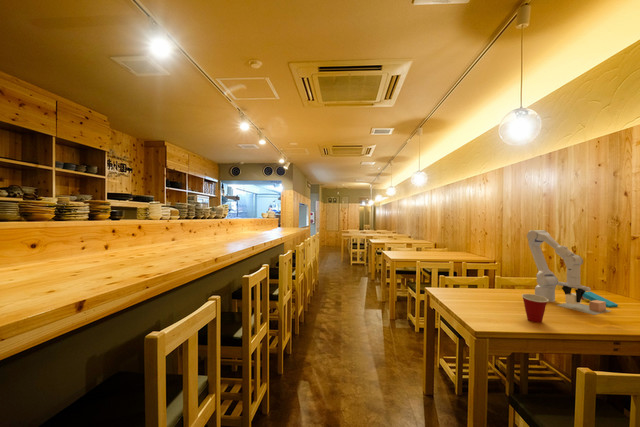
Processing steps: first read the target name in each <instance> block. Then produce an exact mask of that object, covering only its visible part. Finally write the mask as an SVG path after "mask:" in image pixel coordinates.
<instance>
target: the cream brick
mask: <svg viewBox="0 0 640 427" xmlns="http://www.w3.org/2000/svg"><path fill="white" fill-rule="evenodd" d="M565 303H570V304H579V303H580V304H582V300H581V301H580V302H577V301H576V292H575V293H574V292H571V294H566V295H565Z"/></svg>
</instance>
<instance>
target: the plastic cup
mask: <svg viewBox="0 0 640 427" xmlns="http://www.w3.org/2000/svg"><path fill="white" fill-rule="evenodd" d="M521 297H522V299H523V304H524V309H525V314H526V318H527V321H529V322H532V323H538V324H539V323H541V324H542V323H543V319H544V315H545V311H546V306H547V304H548V301H549V300H548V299H547V298H545V297H542V296H539V295H535V294H533V293H522V294H521Z"/></svg>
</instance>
